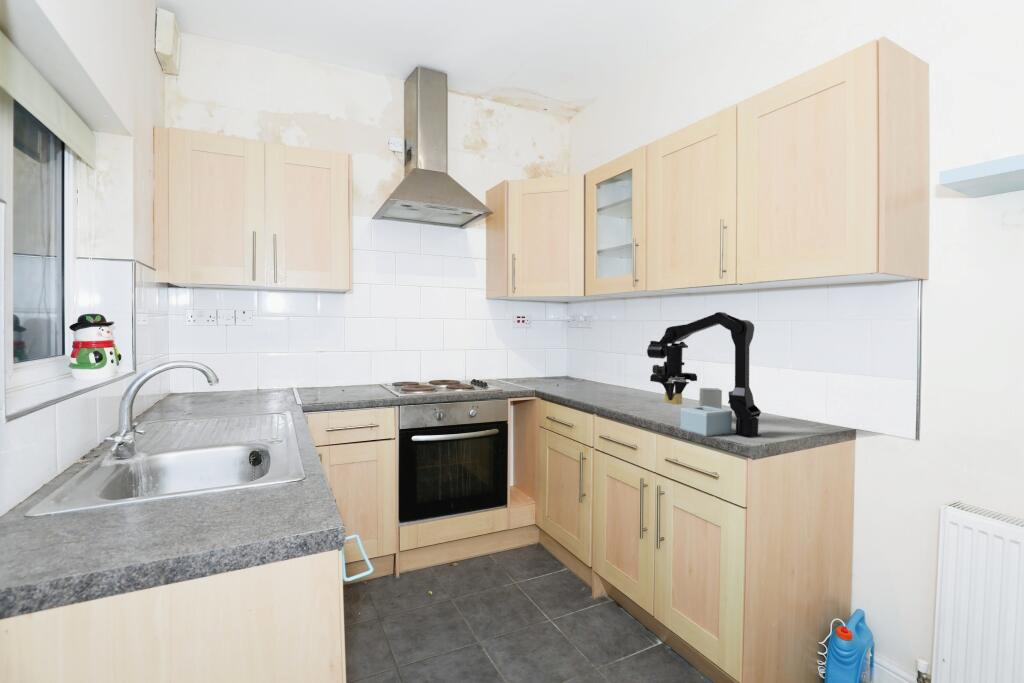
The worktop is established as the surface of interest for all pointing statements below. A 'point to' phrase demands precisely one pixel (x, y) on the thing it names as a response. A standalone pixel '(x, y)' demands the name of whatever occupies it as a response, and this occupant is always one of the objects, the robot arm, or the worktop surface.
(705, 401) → the supplement box
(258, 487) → the worktop surface
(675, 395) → the tall tan wooden block
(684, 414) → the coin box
